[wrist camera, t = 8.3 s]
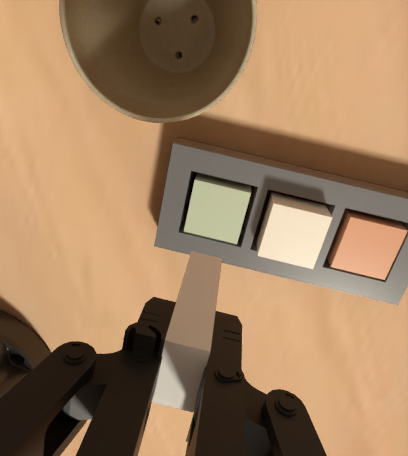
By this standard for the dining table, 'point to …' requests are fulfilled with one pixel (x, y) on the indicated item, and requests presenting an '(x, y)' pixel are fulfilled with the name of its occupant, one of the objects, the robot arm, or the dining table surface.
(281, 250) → the cream key
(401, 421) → the dining table surface
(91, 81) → the flower pot
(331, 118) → the dining table surface
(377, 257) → the peach key
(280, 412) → the robot arm
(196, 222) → the sage key
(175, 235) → the keyguard
